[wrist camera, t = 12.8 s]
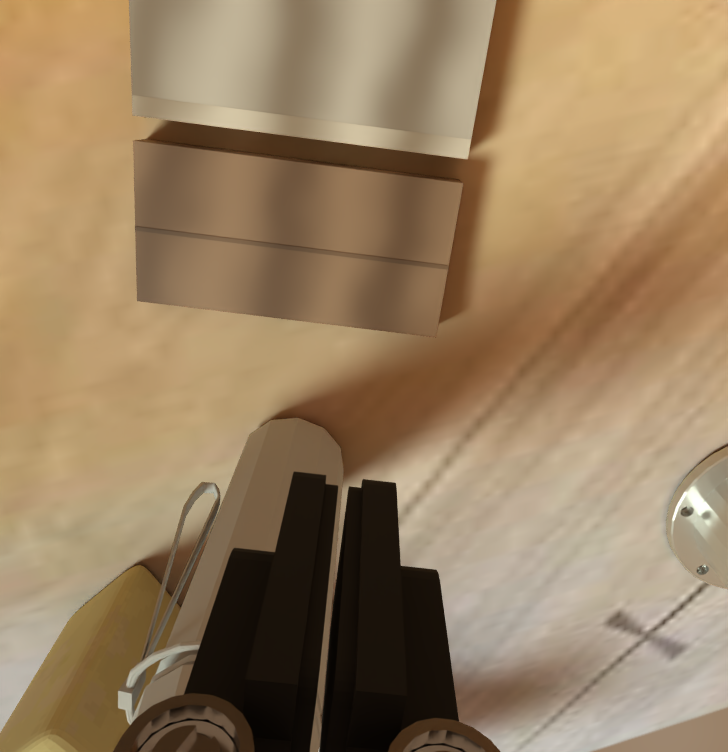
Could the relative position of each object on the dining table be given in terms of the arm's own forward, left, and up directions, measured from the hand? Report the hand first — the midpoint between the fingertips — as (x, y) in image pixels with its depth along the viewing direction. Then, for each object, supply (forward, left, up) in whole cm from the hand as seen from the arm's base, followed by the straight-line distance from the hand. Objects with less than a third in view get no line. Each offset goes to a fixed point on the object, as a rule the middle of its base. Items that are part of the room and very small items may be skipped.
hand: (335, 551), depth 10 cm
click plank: (+4, -10, -29) cm, 31 cm away
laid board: (+4, +1, -29) cm, 29 cm away
